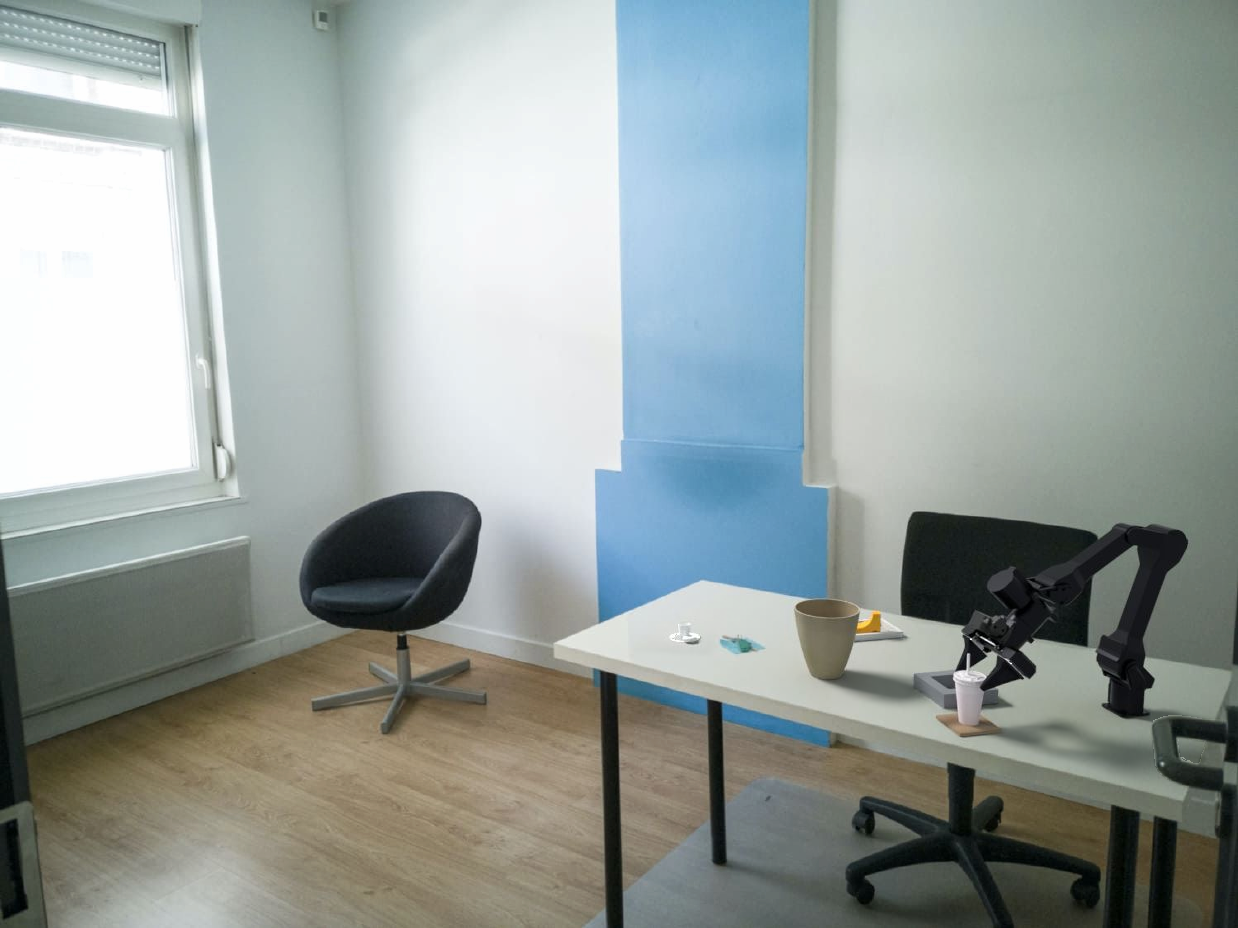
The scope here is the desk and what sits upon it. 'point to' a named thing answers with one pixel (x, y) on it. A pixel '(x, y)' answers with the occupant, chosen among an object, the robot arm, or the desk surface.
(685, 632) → the teacup and saucer
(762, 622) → the desk surface
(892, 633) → the tray
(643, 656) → the desk surface
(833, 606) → the plant pot
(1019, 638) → the robot arm
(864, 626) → the pipe clamp
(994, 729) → the pad
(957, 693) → the smoothie
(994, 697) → the dock
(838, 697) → the desk surface
